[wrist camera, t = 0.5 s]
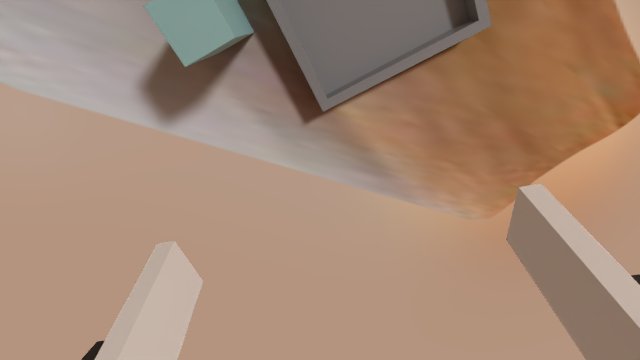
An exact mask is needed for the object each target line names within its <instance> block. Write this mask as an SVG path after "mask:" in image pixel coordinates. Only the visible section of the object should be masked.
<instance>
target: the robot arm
mask: <svg viewBox="0 0 640 360" xmlns="http://www.w3.org/2000/svg"><path fill="white" fill-rule="evenodd" d="M506 240H507V241H508V243H509V244H510V246H511V247H512V249H513V250H514V252H515V253H516V255H517V256H518V258H519V259H520V261H521V262H522V264H523V265H524V267H525V268H526V270H527V271H528V273H529V274H530V276H531V277H532V279H533V281H534V282H535V284H536V285H537V287H538V288H539V290H540V291H541V293H542V294H543V296H544V297H545V298H546V300H547V302H548V303H549V305H550V306H551V308H552V309H553V311H554V312H555V314H556V315H557V317H558V318H559V320H560V321H561V323H562V324H563V326H564V327H565V329H566V330H567V332H568V333H569V335H570V336H571V338H572V339H573V341H574V342H575V344H576V345H577V347H578V348H579V350H580V351H581V353H582V354H583V356H584V357H585V359H586V360H640V275H632V276H631V275H629V273H628V272H627V271H626V270H625V269H624V268H623V267H622V266H621V265H620V264H619V263H618V262H617V261H616V260H615V259H614V258H613V257H612V256H611V255H610V254H609V253H608V252H607V251H606V250H605V249H604V248H603V247H602V246H601V245H600V244H599V243H598V241H597V240H595V238H594V237H593V236H592V235H591V234H590V233H589V232H588V231H587V230H586V229H585V228H584V227H583V226H582V225H581V224H580V223H579V222H578V221H577V220H576V219H575V218H574V217H573V216H572V215H571V214H570V213H569V212H568V211H567V210H566V209H565V208H564V207H563V206H562V204H561V203H560V202H559V201H558V200H557V199H556V198H555V197H554V196H553V195H552V194H551V193H550V192H549V191H548V190H547V189H546V188H545V187H544V186H543V185H542V184H536V185H530V186H523V187H518V192H517V196H516V200H515V204H514V209H513V213H512V217H511V222H510V226H509V230H508V234H507V239H506ZM202 284H203V280H202V279H201V278H200V276H199V275H198V274H197V272H196V271H195V269H194V268H193V266H192V265H191V264H190V262H189V261H188V259H187V258H186V256H185V255H184V254H183V252H182V251H181V249H180V248H179V247H178V245H177V244H176V242H175V241H172V242H166V243H159V244H156V246H155V248H154V250H153V252H152V254H151V256H150V258H149V259H148V261H147V263H146V265H145V267H144V269H143V270H142V272H141V274H140V276H139V278H138V280H137V282H136V283H135V285H134V287H133V289H132V291H131V293H130V295H129V297H128V298H127V300H126V302H125V304H124V306H123V308H122V309H121V311H120V313H119V315H118V317H117V319H116V321H115V323H114V324H113V326H112V328H111V330H110V332H109V334H108V336H107V337H106V339H105V341H99V342H96V344H95V345H94V346H93V347H92V348H91V349H90V350H89V352H88V353H87V354H86V355H85V356H84V357H83V358H82V360H177V359H178V356H179V353H180V350H181V347H182V344H183V341H184V338H185V335H186V332H187V329H188V326H189V323H190V320H191V317H192V314H193V311H194V308H195V305H196V302H197V299H198V296H199V293H200V290H201V287H202Z"/></svg>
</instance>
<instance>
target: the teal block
mask: <svg viewBox="0 0 640 360" xmlns="http://www.w3.org/2000/svg"><path fill="white" fill-rule="evenodd" d="M144 7H145V9H146V10H147V12H148V13H149V15H150V16H151V18H152V19H153V21H154V22H155V24H156V25H157V27H158V28H159V29H160V31H161V32H162V34H163V35H164V37H165V38H166V40H167V41H168V43H169V44H170V46H171V47H172V49H173V50H174V51H175V53H176V54H177V56H178V57H179V59H180V60H181V62H182V63H183V65H184V66H185V67H187V66H189V65H192V64H194V63H197V62H199V61H202V60H204V59H206V58H209V57H211V56H214V55H216V54H218V53H220V52H222V51H224V50H225V49H227V48H229V47H230V46H232V45H234V44H235V43H237V42H239V41H241V40H242V39H244V38H246V37H247V36H249V35H251V34H253V33H254V30H253V29H252V27H251V25H250V23H249V21H248V20H247V18H246V16H245V14H244V12H243V10H242V9H241V7H240V5H239V3H238V1H237V0H152V1H151V2H149V3H148V4H146V5H144Z"/></svg>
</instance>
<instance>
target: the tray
mask: <svg viewBox="0 0 640 360" xmlns="http://www.w3.org/2000/svg"><path fill="white" fill-rule="evenodd" d="M266 1H267V3H268V5H269V7H270V8H271V10H272V12H273V14H274V16H275V18H276V20H277V22H278V24H279V26H280V28H281V30H282V32H283V34H284V36H285V38H286V40H287V42H288V44H289V46H290V48H291V50H292V52H293V54H294V56H295V58H296V60H297V62H298V64H299V66H300V67H301V69H302V71H303V73H304V75H305V77H306V79H307V81H308V83H309V85H310V87H311V89H312V91H313V93H314V95H315V97H316V99H317V101H318V103H319V105H320V107H321V109H322V111H323V112H324V111H326V110H328V109H330V108H332V107H334V106H336V105H337V104H339V103H341V102H343V101H345V100H347V99H349V98H351V97H353V96H355V95H357V94H359V93H361V92H363V91H365V90H367V89H369V88H371V87H373V86H375V85H377V84H378V83H380V82H382V81H384V80H386V79H388V78H390V77H392V76H394V75H396V74H398V73H400V72H402V71H404V70H406V69H408V68H410V67H412V66H414V65H416V64H417V63H419V62H421V61H423V60H425V59H427V58H429V57H431V56H433V55H435V54H437V53H439V52H441V51H443V50H445V49H447V48H449V47H451V46H453V45H455V44H457V43H458V42H460V41H462V40H464V39H466V38H468V37H470V36H472V35H474V34H476V33H478V32H480V31H482V30H484V29H486V28H488V27H490V26H492V25H491V20H490V15H489V10H488V5H487V1H486V0H266Z"/></svg>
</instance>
